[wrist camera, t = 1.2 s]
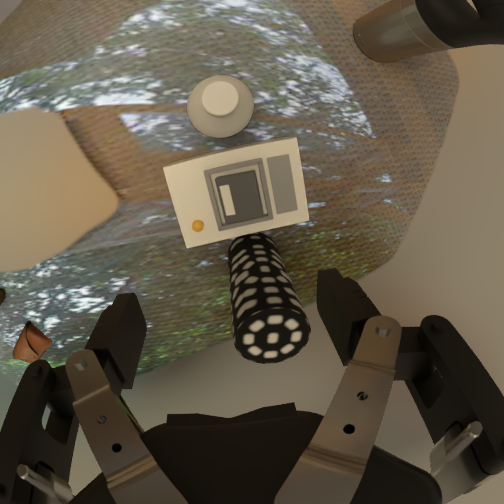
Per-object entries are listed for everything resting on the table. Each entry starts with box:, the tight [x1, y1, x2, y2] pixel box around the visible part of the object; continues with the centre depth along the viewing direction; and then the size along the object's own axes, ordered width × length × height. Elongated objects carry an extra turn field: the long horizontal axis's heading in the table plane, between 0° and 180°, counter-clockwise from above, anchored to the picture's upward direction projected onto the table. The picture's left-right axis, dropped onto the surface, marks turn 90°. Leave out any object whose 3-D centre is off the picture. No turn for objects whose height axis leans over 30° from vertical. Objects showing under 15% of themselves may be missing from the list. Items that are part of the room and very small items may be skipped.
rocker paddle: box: [215, 170, 264, 223], centre depth 35 cm, size 5×6×2 cm
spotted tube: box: [228, 232, 311, 364], centre depth 38 cm, size 8×8×20 cm
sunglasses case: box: [13, 321, 52, 363], centre depth 50 cm, size 18×7×7 cm
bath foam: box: [187, 75, 254, 138], centre depth 27 cm, size 7×7×20 cm
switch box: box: [163, 137, 309, 248], centre depth 38 cm, size 18×12×6 cm, turn 101°
